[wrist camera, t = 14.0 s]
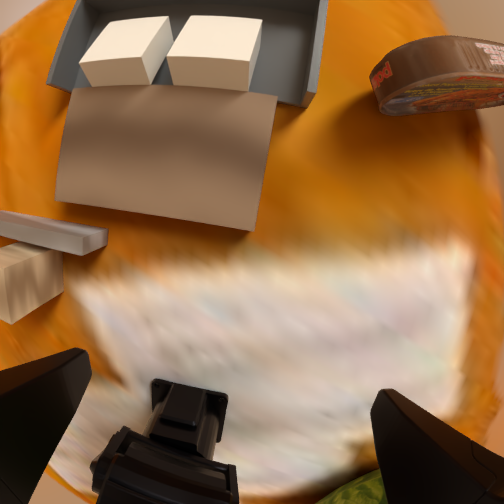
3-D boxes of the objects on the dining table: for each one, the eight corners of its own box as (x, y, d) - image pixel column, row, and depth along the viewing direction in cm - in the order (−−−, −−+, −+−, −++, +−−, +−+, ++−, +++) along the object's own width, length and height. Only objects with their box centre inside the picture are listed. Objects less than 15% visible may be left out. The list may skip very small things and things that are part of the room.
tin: (362, 122, 17) (422, 87, 9) (348, 80, 17) (396, 25, 9) (500, 108, 16) (565, 96, 8) (489, 76, 15) (550, 54, 7)
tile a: (248, 91, 15) (249, 61, 13) (173, 85, 15) (166, 56, 13) (260, 47, 16) (262, 19, 14) (194, 42, 16) (190, 15, 14)
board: (255, 225, 19) (254, 231, 17) (73, 198, 19) (54, 200, 17) (276, 106, 17) (277, 96, 15) (89, 95, 17) (72, 88, 15)
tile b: (150, 84, 15) (141, 56, 13) (92, 87, 15) (78, 63, 13) (173, 42, 16) (168, 16, 14) (118, 45, 16) (109, 22, 14)
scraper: (106, 303, 21) (57, 345, 14) (4, 271, 21) (-44, 293, 14) (108, 228, 20) (49, 249, 13) (2, 210, 20) (-52, 222, 13)
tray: (307, 108, 17) (316, 93, 14) (71, 93, 17) (45, 84, 14) (320, 15, 16) (329, -10, 12) (98, 12, 15) (79, -6, 12)
